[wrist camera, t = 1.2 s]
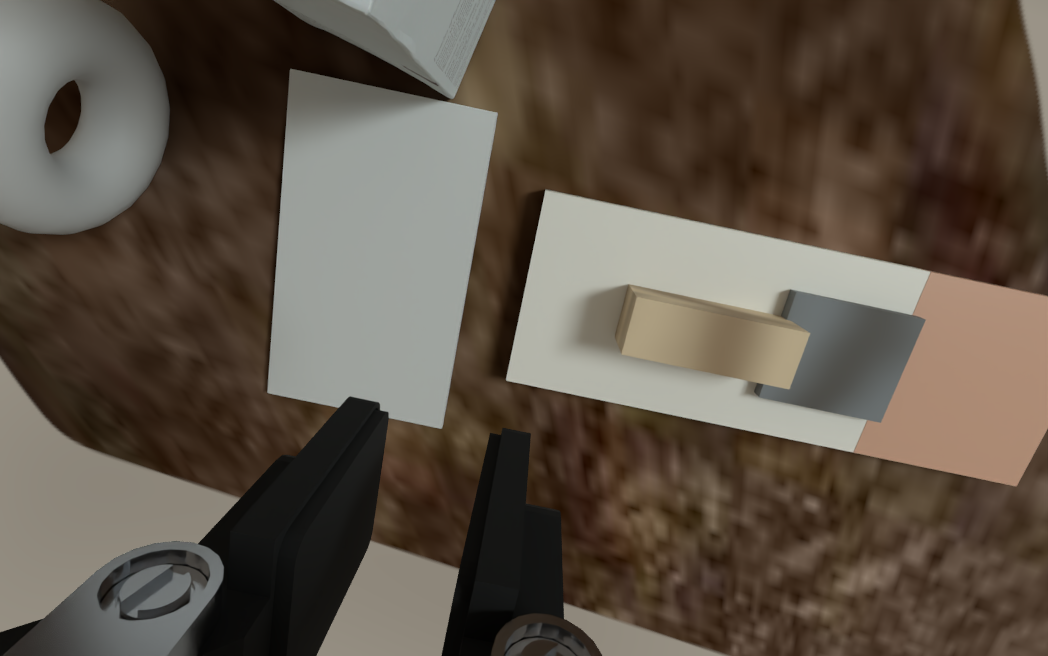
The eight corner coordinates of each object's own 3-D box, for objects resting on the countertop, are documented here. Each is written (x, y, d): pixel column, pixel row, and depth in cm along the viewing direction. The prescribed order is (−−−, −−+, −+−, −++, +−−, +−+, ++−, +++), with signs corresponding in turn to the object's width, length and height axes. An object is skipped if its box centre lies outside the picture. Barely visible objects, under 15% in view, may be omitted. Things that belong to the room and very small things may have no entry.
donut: (131, 7, 26) (-120, -89, 16) (202, 35, 26) (-4, -43, 16) (102, 209, 28) (-124, 230, 19) (167, 233, 29) (-26, 266, 19)
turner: (607, 361, 28) (613, 381, 26) (635, 256, 27) (645, 266, 24) (873, 416, 28) (906, 442, 26) (916, 315, 27) (956, 332, 24)
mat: (293, 69, 26) (290, 68, 26) (497, 113, 26) (497, 112, 26) (270, 390, 31) (267, 392, 31) (442, 425, 31) (441, 428, 31)
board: (545, 189, 27) (545, 190, 26) (1087, 304, 27) (1111, 310, 26) (507, 372, 30) (505, 380, 29) (998, 474, 30) (1016, 486, 29)
